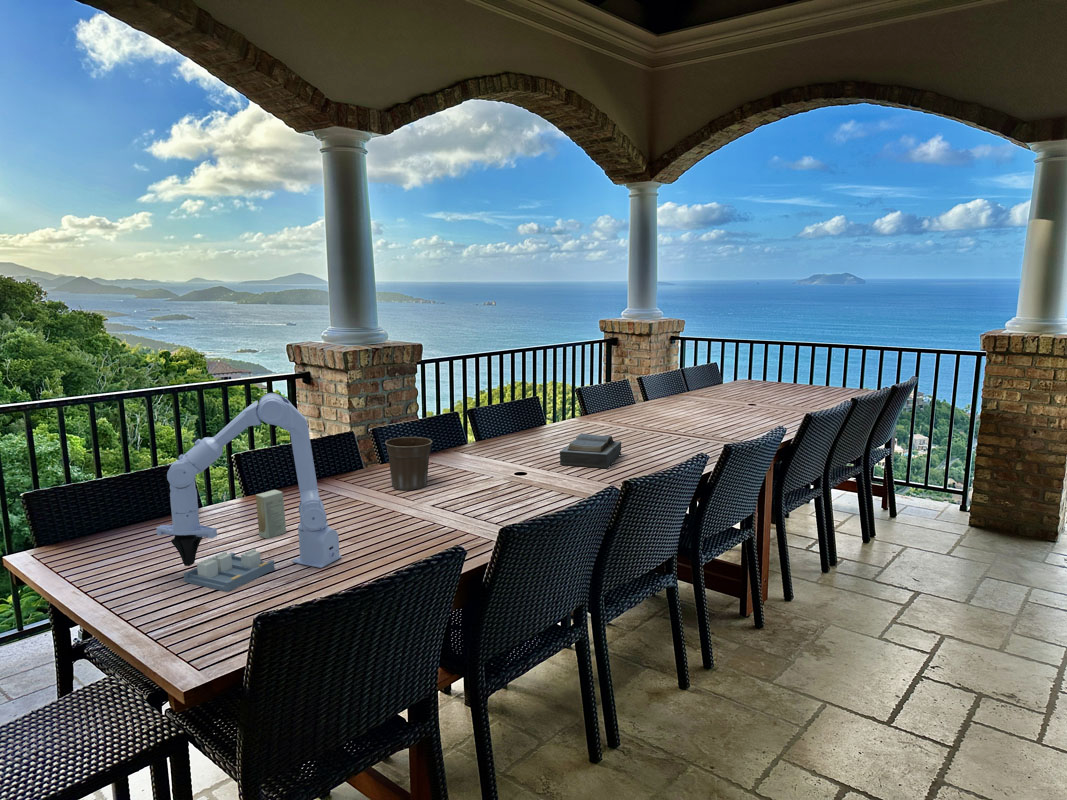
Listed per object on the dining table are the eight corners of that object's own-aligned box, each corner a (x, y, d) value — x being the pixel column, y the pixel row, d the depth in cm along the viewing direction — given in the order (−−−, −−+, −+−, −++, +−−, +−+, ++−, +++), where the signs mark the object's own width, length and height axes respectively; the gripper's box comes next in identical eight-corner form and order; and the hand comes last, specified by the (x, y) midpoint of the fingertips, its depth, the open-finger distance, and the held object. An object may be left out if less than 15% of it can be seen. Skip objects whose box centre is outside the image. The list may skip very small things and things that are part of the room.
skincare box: (278, 530, 202) (276, 488, 200) (286, 533, 199) (284, 491, 197) (257, 536, 197) (254, 493, 195) (265, 539, 194) (263, 496, 192)
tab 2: (232, 568, 171) (231, 552, 171) (221, 573, 168) (220, 556, 168) (223, 566, 172) (222, 550, 172) (212, 571, 170) (211, 555, 169)
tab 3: (260, 565, 173) (259, 549, 172) (250, 570, 170) (249, 554, 169) (251, 563, 174) (250, 547, 174) (241, 568, 171) (240, 552, 171)
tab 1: (218, 574, 167) (217, 558, 167) (207, 579, 165) (205, 563, 164) (209, 572, 169) (207, 556, 168) (198, 577, 166) (196, 561, 165)
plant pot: (438, 480, 253) (437, 436, 251) (427, 493, 237) (425, 446, 235) (394, 479, 255) (392, 436, 252) (380, 492, 239) (378, 446, 236)
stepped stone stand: (631, 458, 287) (632, 434, 285) (603, 473, 264) (603, 447, 263) (581, 451, 299) (581, 429, 297) (549, 465, 276) (549, 440, 275)
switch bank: (274, 569, 173) (273, 560, 173) (227, 592, 160) (227, 582, 160) (232, 560, 179) (231, 551, 178) (184, 581, 166) (183, 572, 165)
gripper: (222, 506, 169) (226, 560, 171) (168, 503, 172) (173, 556, 174) (204, 515, 162) (209, 571, 165) (148, 512, 165) (153, 567, 167)
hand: (189, 564), depth 169 cm, fingers closed
